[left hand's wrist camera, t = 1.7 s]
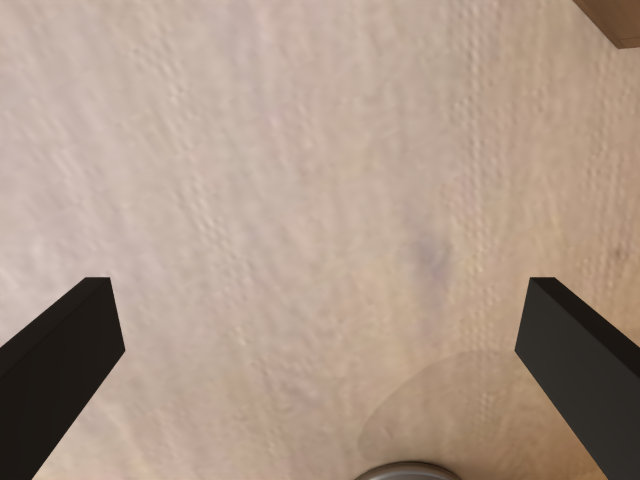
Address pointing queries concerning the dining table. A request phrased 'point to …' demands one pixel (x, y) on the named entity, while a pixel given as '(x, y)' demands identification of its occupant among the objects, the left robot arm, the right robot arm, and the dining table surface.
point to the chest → (615, 20)
